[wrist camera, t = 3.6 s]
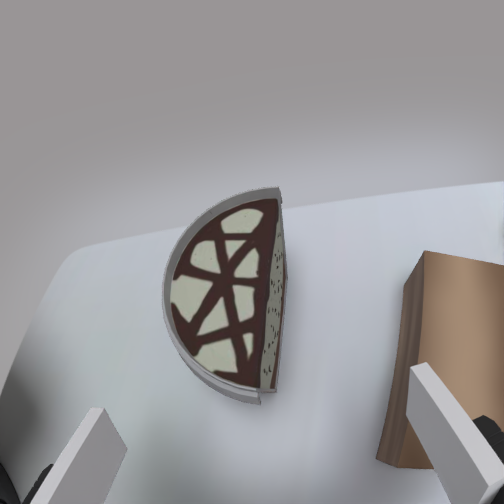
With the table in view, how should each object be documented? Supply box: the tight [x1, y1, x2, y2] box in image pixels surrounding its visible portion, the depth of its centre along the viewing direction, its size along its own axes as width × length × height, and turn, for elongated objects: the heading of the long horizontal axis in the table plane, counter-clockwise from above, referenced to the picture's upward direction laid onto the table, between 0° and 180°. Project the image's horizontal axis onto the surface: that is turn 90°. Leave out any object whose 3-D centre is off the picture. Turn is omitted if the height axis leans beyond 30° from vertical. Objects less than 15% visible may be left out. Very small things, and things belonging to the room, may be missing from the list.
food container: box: [162, 186, 288, 405], centre depth 21 cm, size 12×6×10 cm, turn 173°
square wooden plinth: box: [376, 250, 504, 469], centre depth 17 cm, size 14×14×6 cm
